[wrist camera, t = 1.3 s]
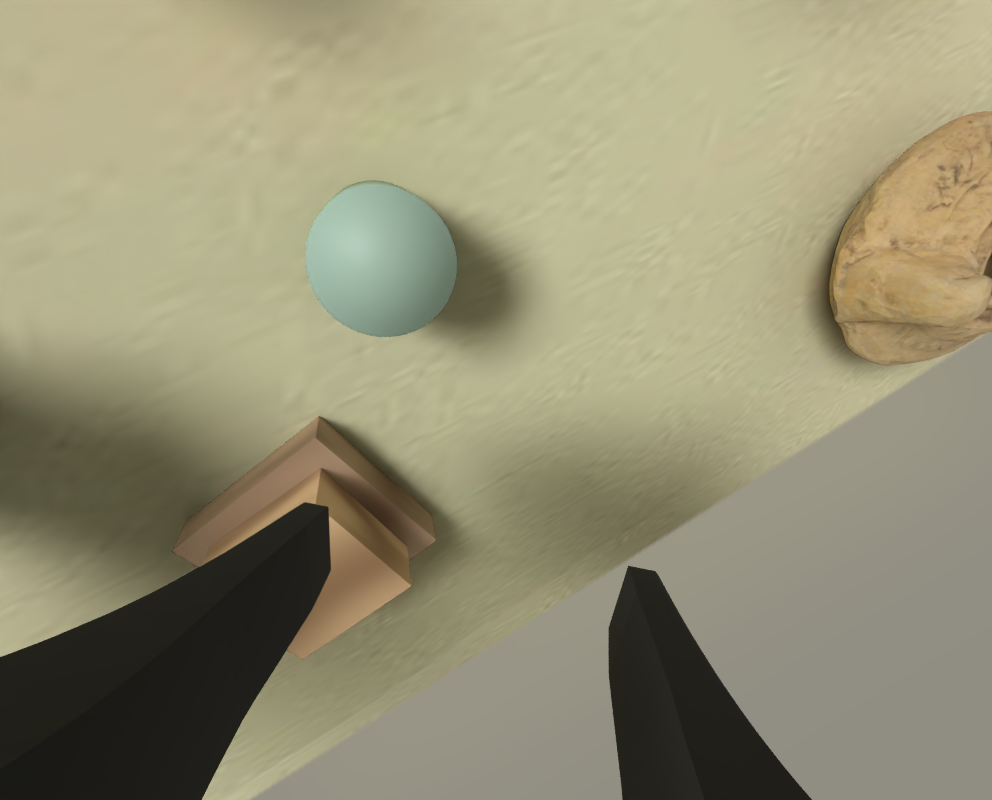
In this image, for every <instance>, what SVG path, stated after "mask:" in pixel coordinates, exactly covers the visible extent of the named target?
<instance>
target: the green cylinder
mask: <svg viewBox="0 0 992 800" xmlns="http://www.w3.org/2000/svg"><path fill="white" fill-rule="evenodd" d="M305 260H306V270H307V275H308V279H309V282H310V284H311V287H312V289H313V291H314V293H315V295H316V297H317V299H318V300H319V302H320V303H321V305H322V306H323V307H324V308H325V309H326V310H327V312H328V313H329V314H331V315H332V316H333V317H334V318H335V319H336V320H338V321H339V322H340V323H342V324H343V325H345V326H347V327H349V328H350V329H352V330H355V331H357V332H360V333H363V334H367V335H371V336H378V337H393V336H400V335H404V334H408V333H410V332H413V331H416V330H418V329H420V328H421V327H423V326H425V325H426V324H428V323H429V322H431V321H432V320H433V319H434V318H435V317H436V316H437V315H438V314H439V313H440V312H441V310H442V309H443V308H444V306H445V305H446V303H447V302H448V300H449V298H450V296H451V294H452V291H453V288H454V285H455V280H456V275H457V256H456V251H455V246H454V243H453V240H452V237H451V235H450V233H449V230H448V228H447V227H446V225H445V224H444V222H443V220H442V219H441V218H440V216H439V215H438V214H437V213H436V212H435V211H434V210H433V209H432V208H431V207H430V206H429V205H428V204H427V203H425V202H424V201H423V200H421V199H420V198H418V197H417V196H415V195H413V194H411V193H410V192H408V191H406V190H405V189H403V188H401V187H399V186H397V185H394V184H392V183H388V182H384V181H375V180H374V181H363V182H358V183H355V184H352V185H350V186H348V187H346V188H344V189H343V190H341V191H340V192H339V193H337V194H336V195H335V196H334V197H333V198H332V199H331V201H330V202H329V203H328V204H327V205H326V207H325V208H324V209H323V210H322V211H321V213H320V214H319V215H318V217H317V218H316V220H315V222H314V224H313V225H312V228H311V230H310V233H309V236H308V240H307V244H306V254H305Z"/></svg>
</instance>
